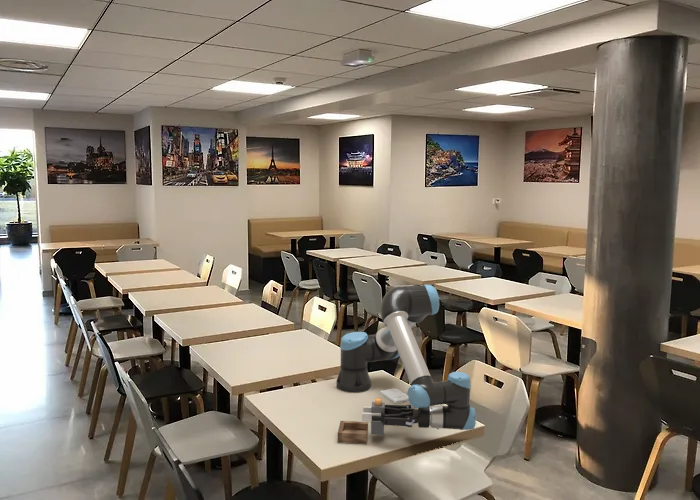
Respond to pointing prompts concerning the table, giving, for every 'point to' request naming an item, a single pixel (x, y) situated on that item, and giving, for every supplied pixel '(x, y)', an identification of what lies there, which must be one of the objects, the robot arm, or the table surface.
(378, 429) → the connector plug
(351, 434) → the holder
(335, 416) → the table surface
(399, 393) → the external hard drive
